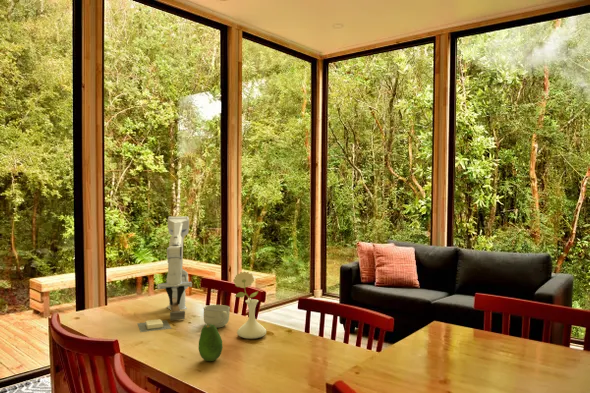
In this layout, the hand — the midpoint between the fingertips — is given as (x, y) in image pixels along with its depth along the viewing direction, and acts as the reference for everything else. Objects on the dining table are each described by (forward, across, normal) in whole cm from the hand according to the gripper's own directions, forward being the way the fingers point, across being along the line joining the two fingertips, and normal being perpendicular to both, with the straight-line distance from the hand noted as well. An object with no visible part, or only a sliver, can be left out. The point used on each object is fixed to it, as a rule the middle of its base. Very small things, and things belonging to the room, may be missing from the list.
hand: (174, 304), depth 201 cm
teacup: (+6, +14, -20) cm, 25 cm away
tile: (+5, -10, -7) cm, 13 cm away
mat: (+6, -10, -10) cm, 15 cm away
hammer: (+3, 0, 0) cm, 3 cm away
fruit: (+6, +2, -56) cm, 56 cm away
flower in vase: (+6, +22, -37) cm, 44 cm away
